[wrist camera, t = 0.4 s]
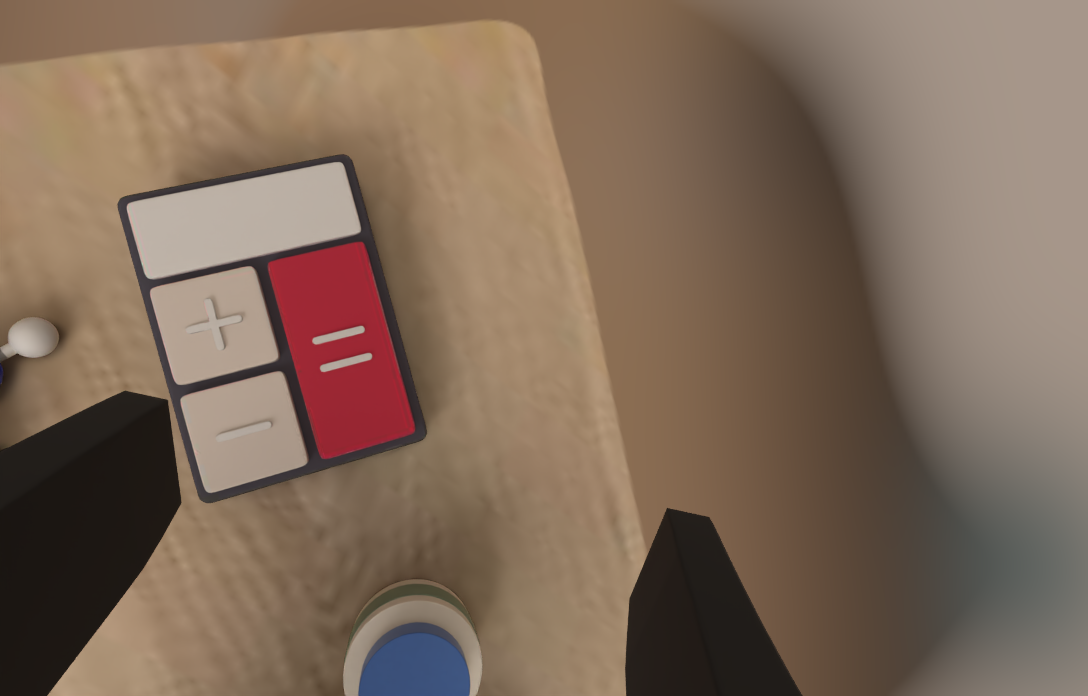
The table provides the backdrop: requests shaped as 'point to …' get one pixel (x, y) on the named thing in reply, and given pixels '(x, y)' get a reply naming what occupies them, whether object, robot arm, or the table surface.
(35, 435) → the robot arm
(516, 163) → the table surface
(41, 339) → the molecule model
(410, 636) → the bottle
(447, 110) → the table surface
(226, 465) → the calculator
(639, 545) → the table surface
